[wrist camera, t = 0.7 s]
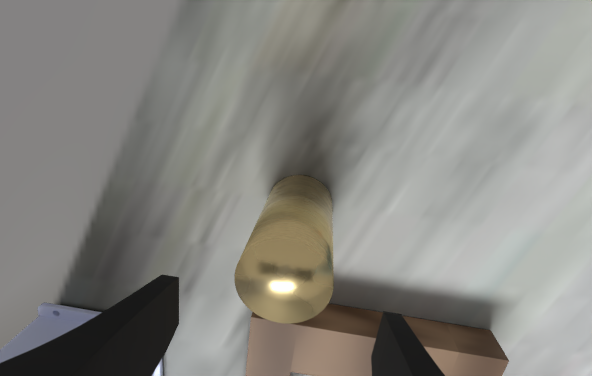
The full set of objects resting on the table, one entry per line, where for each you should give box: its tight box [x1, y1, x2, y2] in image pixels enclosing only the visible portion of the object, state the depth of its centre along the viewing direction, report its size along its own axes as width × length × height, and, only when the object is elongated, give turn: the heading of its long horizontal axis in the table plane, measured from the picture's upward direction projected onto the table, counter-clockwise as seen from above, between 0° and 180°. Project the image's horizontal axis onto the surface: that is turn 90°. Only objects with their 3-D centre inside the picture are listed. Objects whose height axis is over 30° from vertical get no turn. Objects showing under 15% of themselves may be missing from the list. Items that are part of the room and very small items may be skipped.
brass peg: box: [235, 175, 334, 324], centre depth 17 cm, size 4×4×8 cm
